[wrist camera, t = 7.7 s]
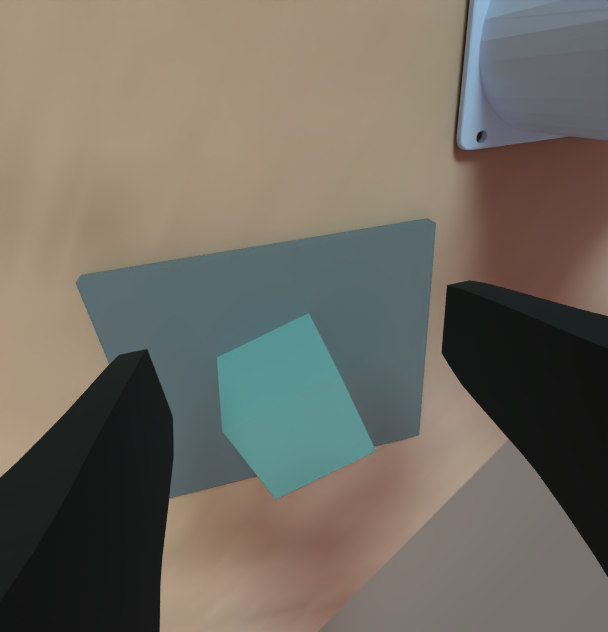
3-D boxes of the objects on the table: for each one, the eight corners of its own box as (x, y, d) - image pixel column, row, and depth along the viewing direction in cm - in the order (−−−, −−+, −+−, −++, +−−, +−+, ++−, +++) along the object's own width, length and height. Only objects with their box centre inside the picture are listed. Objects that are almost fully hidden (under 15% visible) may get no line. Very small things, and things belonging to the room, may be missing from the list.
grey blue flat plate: (427, 218, 20) (435, 223, 19) (413, 426, 27) (418, 435, 26) (80, 275, 17) (75, 282, 16) (166, 487, 24) (165, 499, 23)
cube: (308, 313, 20) (339, 374, 15) (341, 382, 22) (376, 451, 18) (216, 357, 20) (222, 430, 15) (260, 421, 22) (275, 499, 18)
